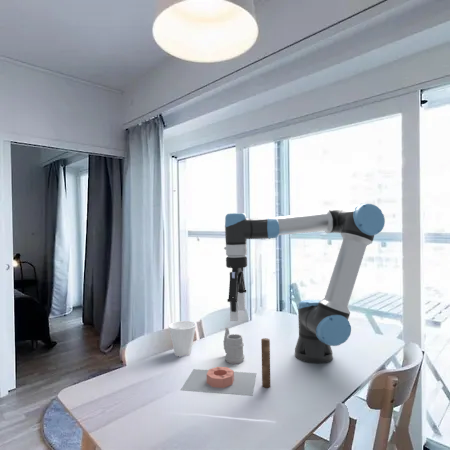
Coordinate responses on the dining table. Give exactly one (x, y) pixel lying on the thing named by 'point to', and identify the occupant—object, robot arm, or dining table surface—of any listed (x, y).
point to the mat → (240, 386)
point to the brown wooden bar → (265, 362)
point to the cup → (182, 337)
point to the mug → (233, 347)
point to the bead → (220, 377)
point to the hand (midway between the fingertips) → (238, 315)
